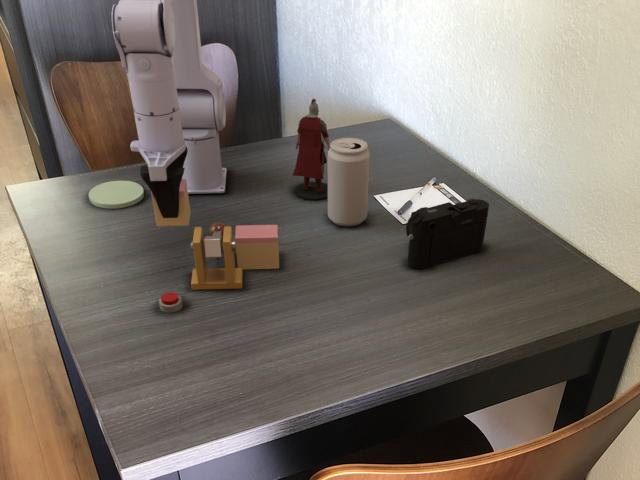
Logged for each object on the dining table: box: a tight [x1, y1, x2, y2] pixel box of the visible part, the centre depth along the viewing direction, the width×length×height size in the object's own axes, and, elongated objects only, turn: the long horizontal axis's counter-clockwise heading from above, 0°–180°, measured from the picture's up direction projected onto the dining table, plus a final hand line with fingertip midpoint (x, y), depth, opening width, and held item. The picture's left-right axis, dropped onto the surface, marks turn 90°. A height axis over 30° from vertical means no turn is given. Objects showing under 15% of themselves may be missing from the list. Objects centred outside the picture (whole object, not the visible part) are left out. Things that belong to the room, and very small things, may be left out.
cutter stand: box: [190, 225, 244, 291], centre depth 101 cm, size 4×7×7 cm, turn 94°
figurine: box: [291, 98, 331, 201], centre depth 119 cm, size 7×7×15 cm
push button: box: [158, 291, 183, 314], centre depth 98 cm, size 3×3×2 cm
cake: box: [234, 224, 280, 271], centre depth 106 cm, size 4×6×5 cm, turn 94°
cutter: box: [203, 221, 227, 258], centre depth 104 cm, size 13×3×3 cm, turn 4°
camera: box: [405, 198, 490, 270], centre depth 108 cm, size 14×7×8 cm, turn 121°
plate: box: [88, 180, 145, 210], centre depth 122 cm, size 9×9×1 cm
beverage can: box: [327, 137, 371, 227], centre depth 113 cm, size 6×6×12 cm
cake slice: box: [150, 179, 192, 227], centre depth 101 cm, size 4×4×5 cm
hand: (171, 209), depth 102 cm, fingers closed on cake slice, 4 cm apart
